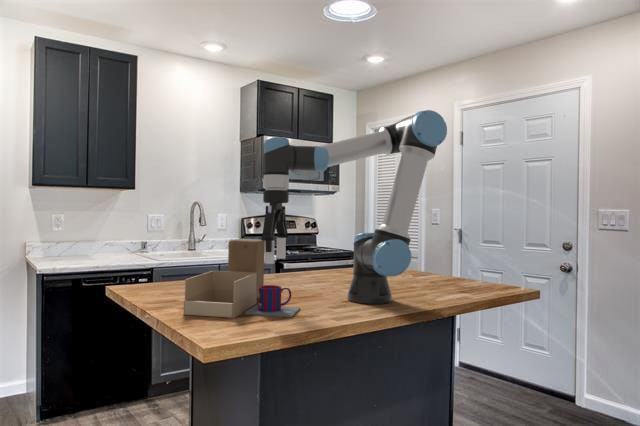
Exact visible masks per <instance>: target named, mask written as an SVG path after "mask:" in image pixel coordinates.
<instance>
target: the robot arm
mask: <svg viewBox="0 0 640 426" xmlns="http://www.w3.org/2000/svg"><path fill="white" fill-rule="evenodd" d="M447 135H448V127H447V123H446V121H445V119H444V117H443V116H442V115H441V114H440V113H438V112H437V111H434V110H432V109H431V110H430V109H425V110H420V111H417V112H416V113H415V114H412V115H410V116H407V117H405V118H402V119H400V120H399V121H396V122H395V123H393V124H390V125H387V126H384V127H380V129H379V130H378V131H376V132H372V133H367V134H364V135H363V134H362V135H359V136H354V137H351V138H346V139H344V140H343V139H342V140H339V141H334V142H331V143H327V144H322V145H314V146H313V145H293V144H291V143H290V139H289V138H287V137H281V136H270V137H267V138H265V140H264V141H263V178H262V179H261V182H263V189H265V190H264V191H263V192H262V193H263V195H262V196H263V197H262V199H263V203H264V204H269V205H265V213H264V221H263V228H262V235H261V238H260V239H261V240H264V242H265V243H264V265H265V264H267V265H273V264H275V240H274V237H275V233H276V234H277V237H276V259H277V260H278V259H279V260H280V259H281V260H285V259H286V255H287V254H286V251H287V250H286V243H287V242H286V241H287V238H289V234H288V226H287V216H286V205H283V204H288V203H289V201H290V200H289V193H290V192H289V190H288V189H289V188H290V181H289V179H290V178H289V177H290V174H289V173H291V174H292V175H293V174H294V175H297V176H301V175H303V174H307V173H310V172H325V171H326V170H327V169H328V168H329V167H333V166H337V165H342V164H344V163H345V164H346V163H349V162H353V161H358V160H360V159H361V160H362V159H365V158H369V157H370V158H371V157H374V156H377V155H381V154H385V155H386V156H389V155H392V154H393V155H394V154H399V153H400V154H401V157H400V160H399V164H398V167H397V170H396V173H395V177H394V181H393V184H392V187H391V192H390V194H389V195H390V196H389V198H388V201H387V205H386V208H385V212H384V216H383V219H382V222H381V224H380V225H379V226H378V227H376V228H375V229H374V232H362V233H357V234H355V236H354V240H353V244H352V245H353V265H352V268H353V275H352V276H353V277H352V279H351V283H350V286H349V289H348V292H347V301H350V302H354V303H359V304H367V305H369V304H370V305H381V304H387V303H391V302H392V300H393V299H392V295H393V294H392V292H391V289H390V284H389V281H388V277H397V276H400V275H401V274H403V273H405V271H406V270H408V268H409V266H410V265H411V262H412V251H411V249H410V243H411V239H412V237H411V235H409V229H410V225H411V222H412V218H413V214H414V211H415V207H416V205H417V201H418V197H419V194H420V191H421V188H422V187H421V186H422V184H423V179H424V176H425V172H426V169H427V166H428V163H429V161H431V160H432V159H434V158H435V155H436V152H437V149H438V146H440V145H441V144H442V143H443V142H444V141H445V140H446V138H447Z"/></svg>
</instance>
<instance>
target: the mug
mask: <svg viewBox="0 0 640 426" xmlns="http://www.w3.org/2000/svg"><path fill="white" fill-rule="evenodd" d="M285 290H287V291H288V293H289V294H288V298H287V300H286V301H285V302H282V292H283V291H285ZM291 298H292V291H291V289H290V288H289V287H282V286H281V285H275V284H274V285H273V284H270V285H269V284H268V285H265V284H264V285H263V286H259V298H258V303H257V305H258V310H259V311H263V312H276V311H280V310H281V306H285V305H287V304H288V303H289V302H290V301H291Z"/></svg>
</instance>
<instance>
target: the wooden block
mask: <svg viewBox="0 0 640 426" xmlns="http://www.w3.org/2000/svg"><path fill="white" fill-rule="evenodd" d="M264 245H265V241H264V240H261V238H260V239H257V238H256V239H255V238H236V239H230V240H229V241H228V254H227V255H228V260H227V262H228V263H227V271H232V272H253V273H257V277H256V291H257V299H259V286H264V285H265V284H264V283H265V282H264V280H265V279H264V276H265V273H264V272H265V264H264Z"/></svg>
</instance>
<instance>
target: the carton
mask: <svg viewBox="0 0 640 426" xmlns="http://www.w3.org/2000/svg"><path fill="white" fill-rule="evenodd" d="M256 277H257V273H253V272H232V271H228V270H211V271H208V272H204V273H201V274H198V275H195V276H191V277H189V278H186V279H184V300H183V316H197V317H198V316H199V317H200V316H201V317H210V318H211V317H214V318H227V319H228V318H229V319H231V318H232V319H235V318H236V317H237V316H239V315H241V314H243V313H245V312H246V311H248V310H249V309H251V308H252V307H254V306H255V305H257V301H258V298H257V291H256Z"/></svg>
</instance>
